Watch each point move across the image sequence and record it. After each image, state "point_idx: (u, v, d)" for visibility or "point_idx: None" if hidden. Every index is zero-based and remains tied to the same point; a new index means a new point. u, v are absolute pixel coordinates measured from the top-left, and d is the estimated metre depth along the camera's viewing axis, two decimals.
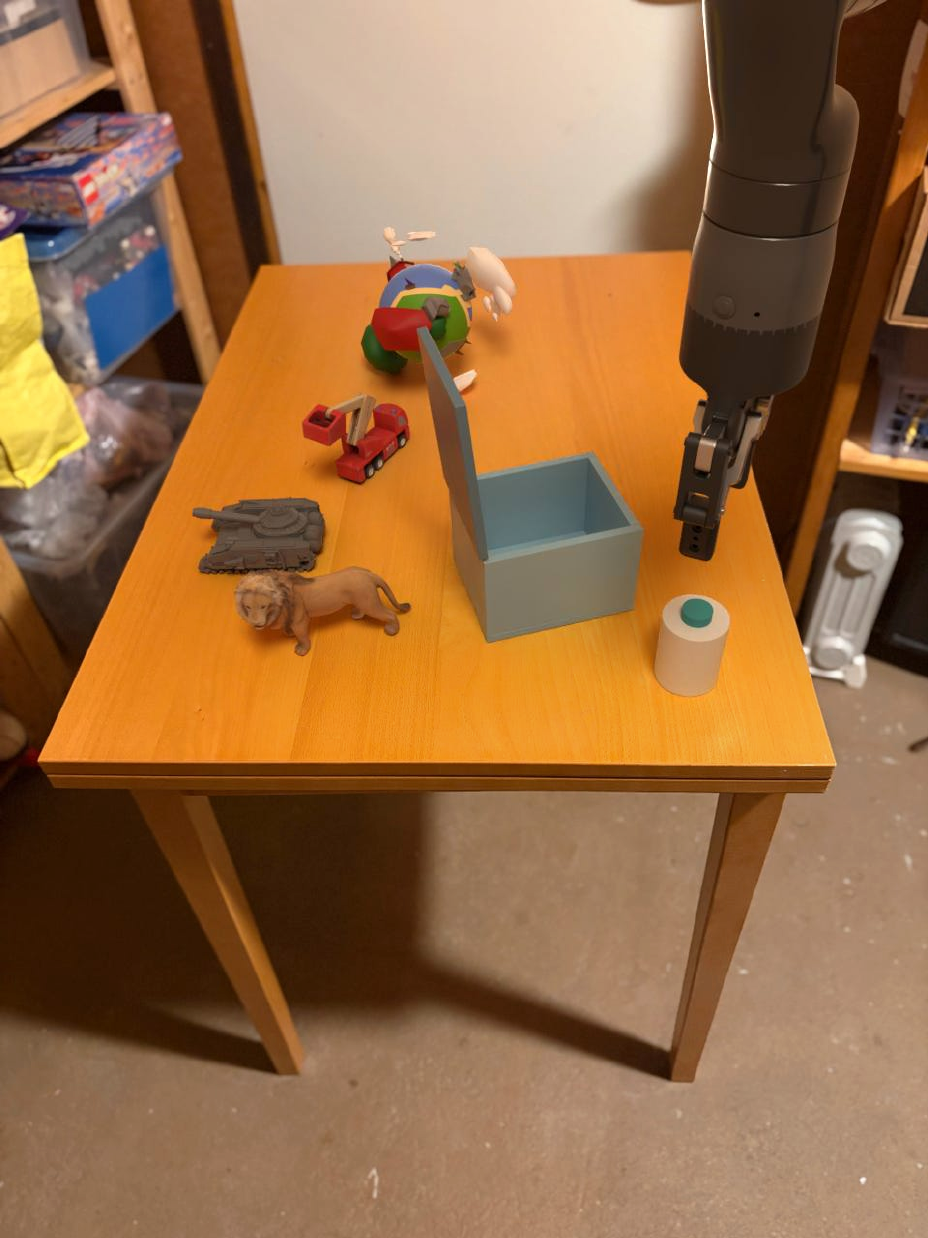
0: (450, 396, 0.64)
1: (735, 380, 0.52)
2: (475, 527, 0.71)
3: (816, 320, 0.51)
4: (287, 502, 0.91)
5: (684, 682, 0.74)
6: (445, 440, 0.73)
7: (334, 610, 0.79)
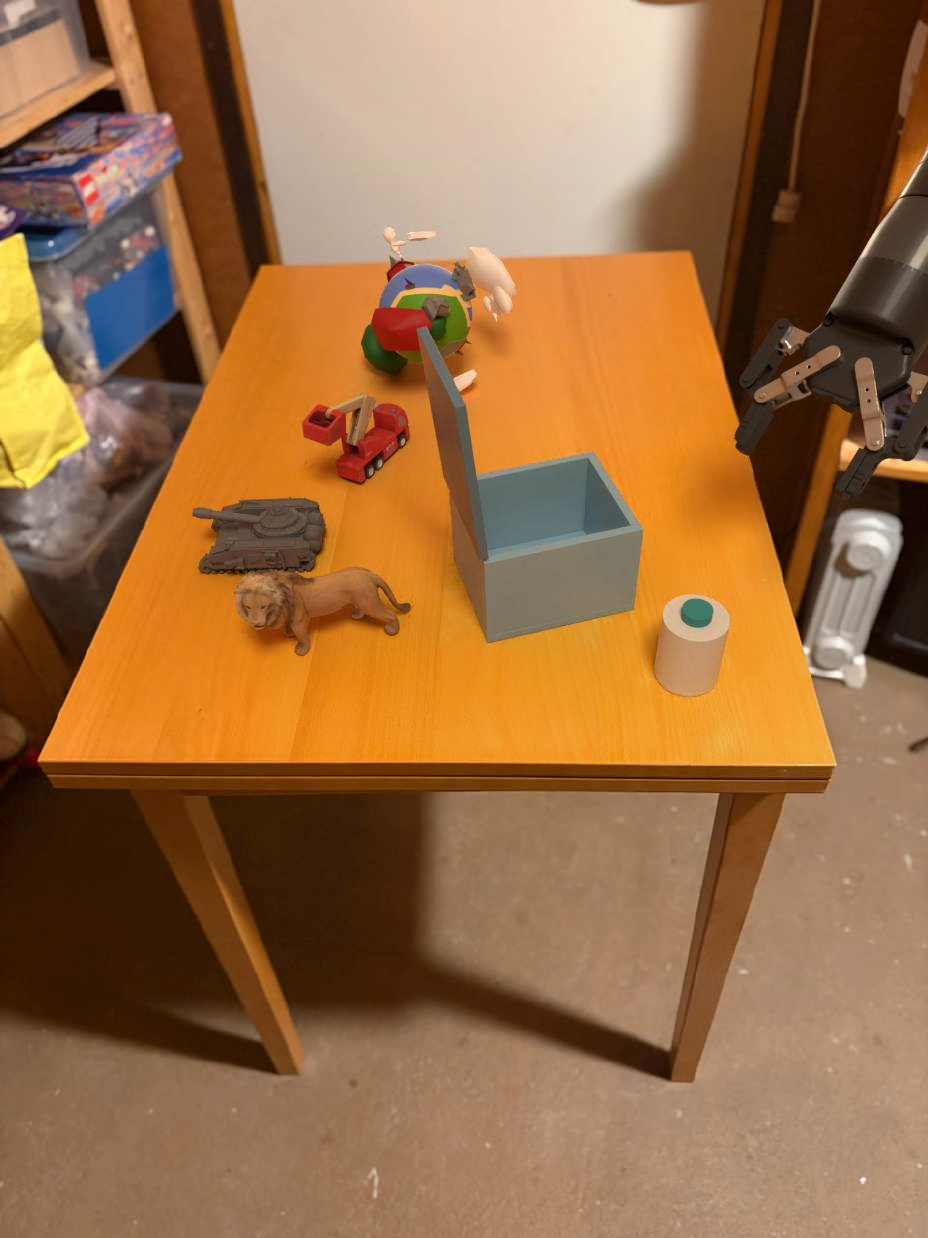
0: (450, 396, 0.64)
1: None
2: (475, 527, 0.71)
3: (883, 261, 0.66)
4: (287, 502, 0.91)
5: (684, 682, 0.74)
6: (445, 440, 0.73)
7: (334, 610, 0.79)
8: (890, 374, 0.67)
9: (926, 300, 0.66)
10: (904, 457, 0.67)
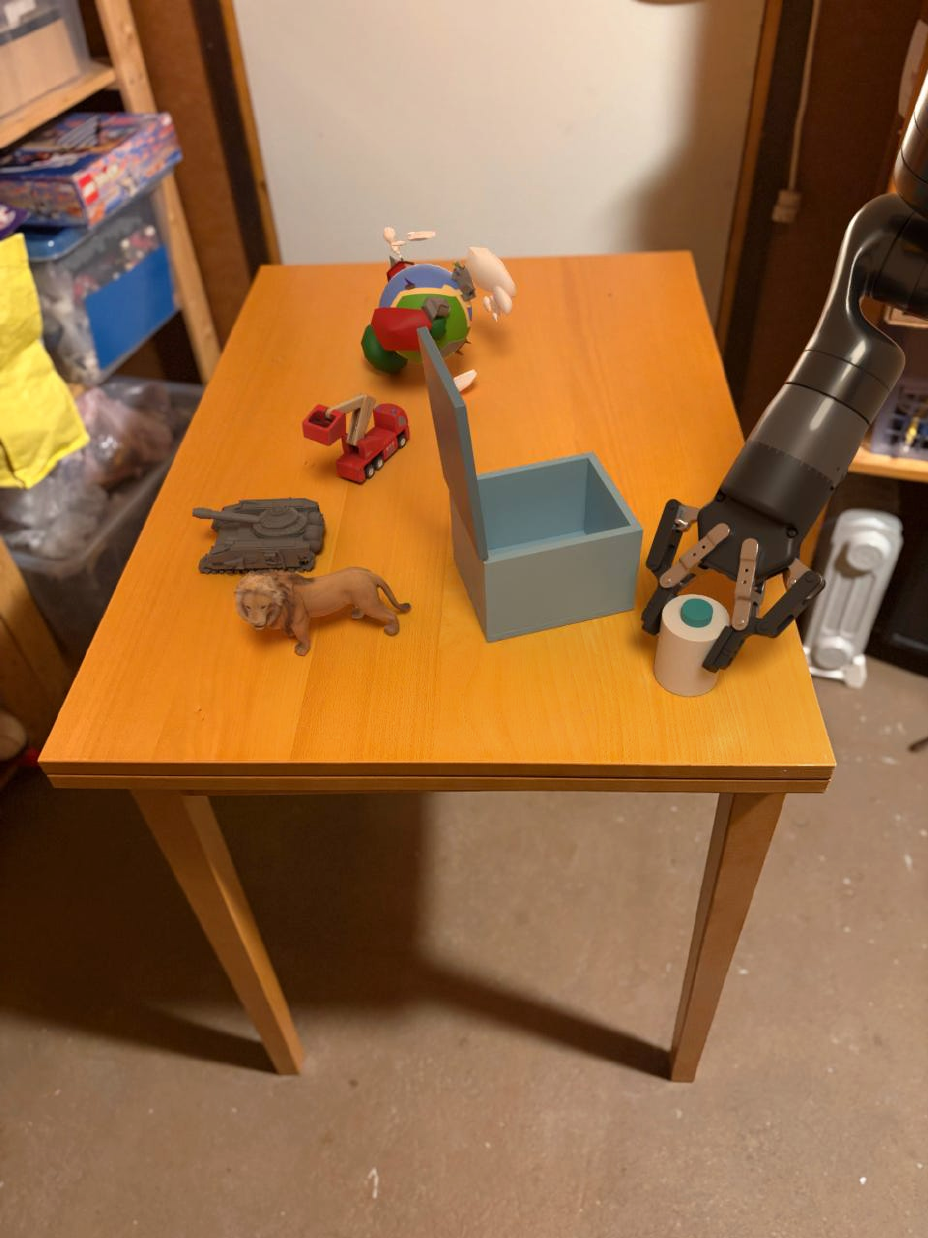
0: (450, 396, 0.64)
1: None
2: (475, 527, 0.71)
3: (767, 449, 0.68)
4: (287, 502, 0.91)
5: (684, 682, 0.74)
6: (445, 440, 0.73)
7: (334, 610, 0.79)
8: (775, 555, 0.69)
9: (807, 488, 0.67)
10: (765, 636, 0.70)
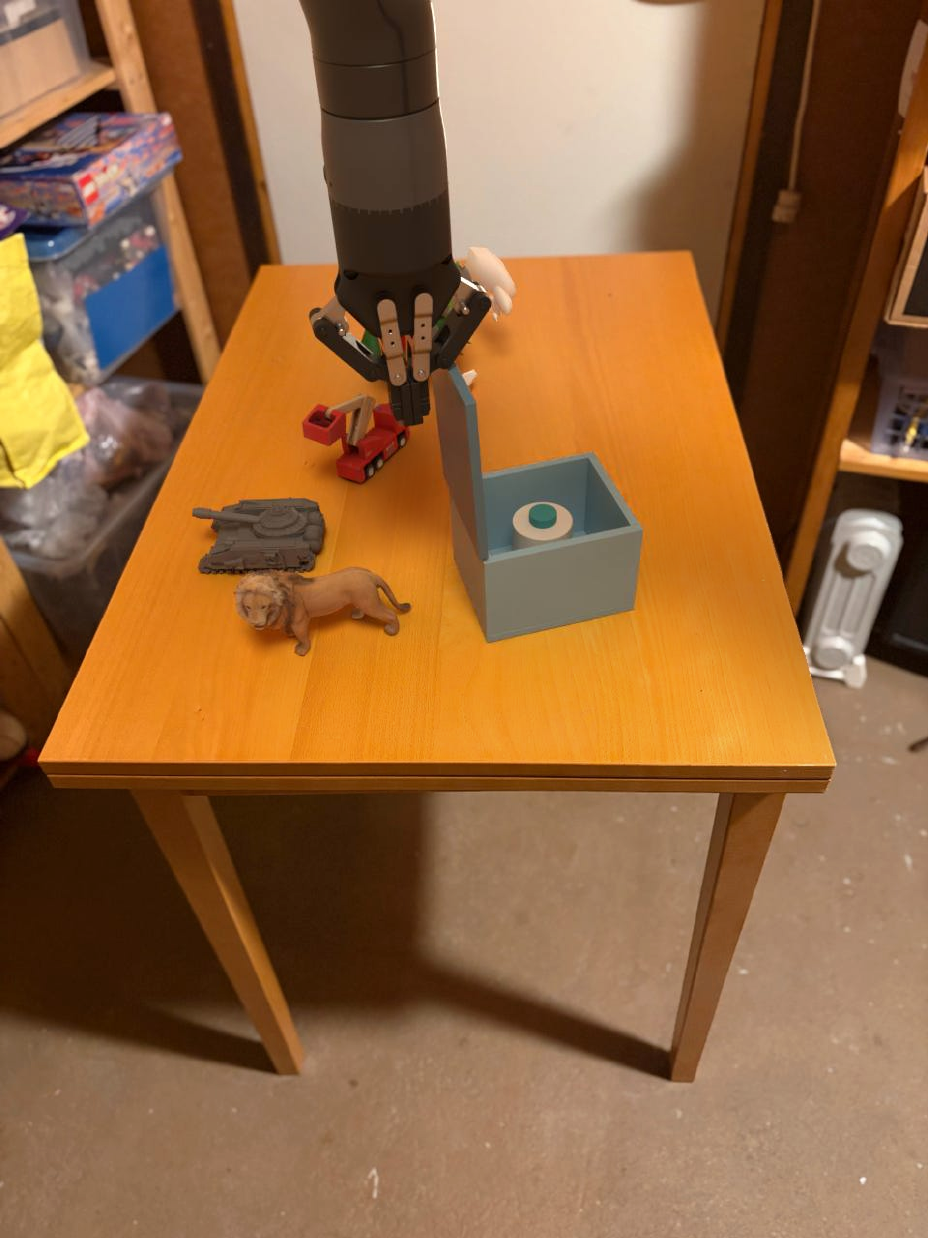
0: (460, 393, 0.64)
1: (337, 246, 0.59)
2: (477, 526, 0.71)
3: (388, 214, 0.55)
4: (287, 502, 0.91)
5: None
6: (449, 439, 0.73)
7: (334, 610, 0.79)
8: (446, 287, 0.62)
9: (444, 216, 0.57)
10: None
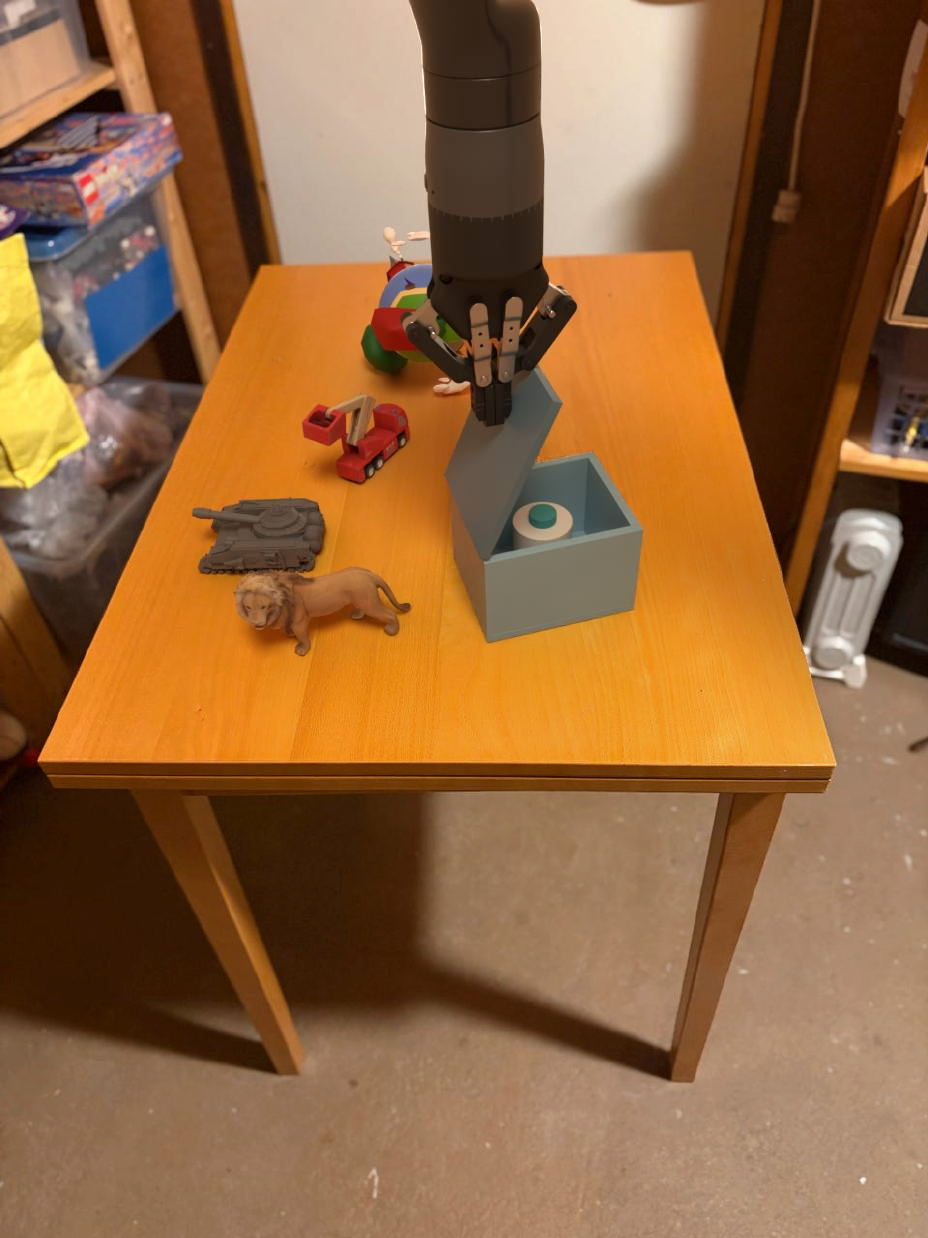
0: (547, 391, 0.66)
1: (434, 252, 0.61)
2: (497, 524, 0.71)
3: (490, 221, 0.57)
4: (287, 502, 0.91)
5: None
6: (488, 436, 0.74)
7: (334, 610, 0.79)
8: (535, 291, 0.64)
9: (540, 223, 0.59)
10: None
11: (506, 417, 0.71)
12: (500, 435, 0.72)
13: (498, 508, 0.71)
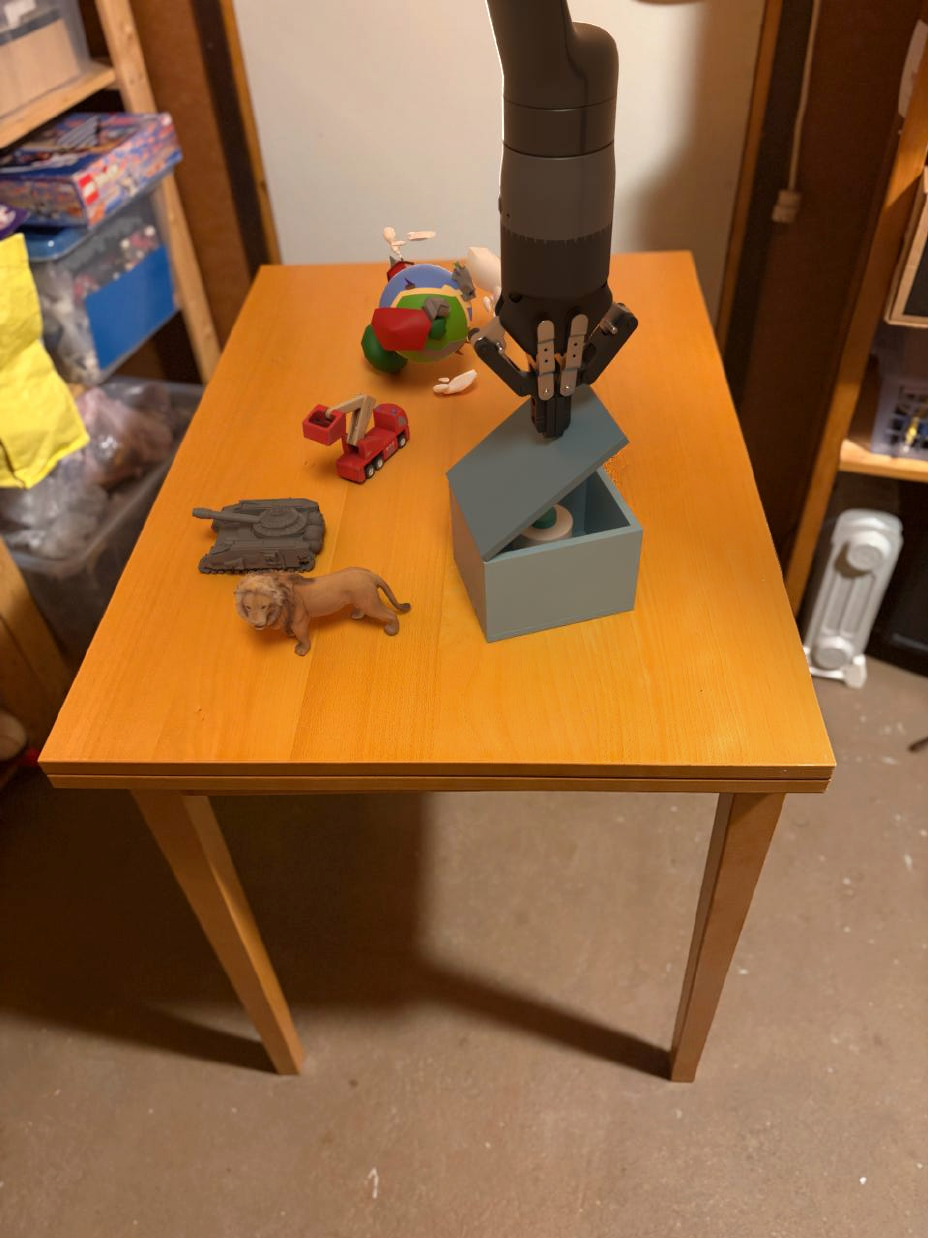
0: (617, 426, 0.70)
1: (505, 272, 0.63)
2: (514, 530, 0.72)
3: (563, 243, 0.59)
4: (287, 502, 0.91)
5: None
6: (523, 450, 0.76)
7: (334, 610, 0.79)
8: (599, 309, 0.66)
9: (609, 244, 0.62)
10: None
11: (553, 438, 0.74)
12: (540, 452, 0.74)
13: (521, 515, 0.72)
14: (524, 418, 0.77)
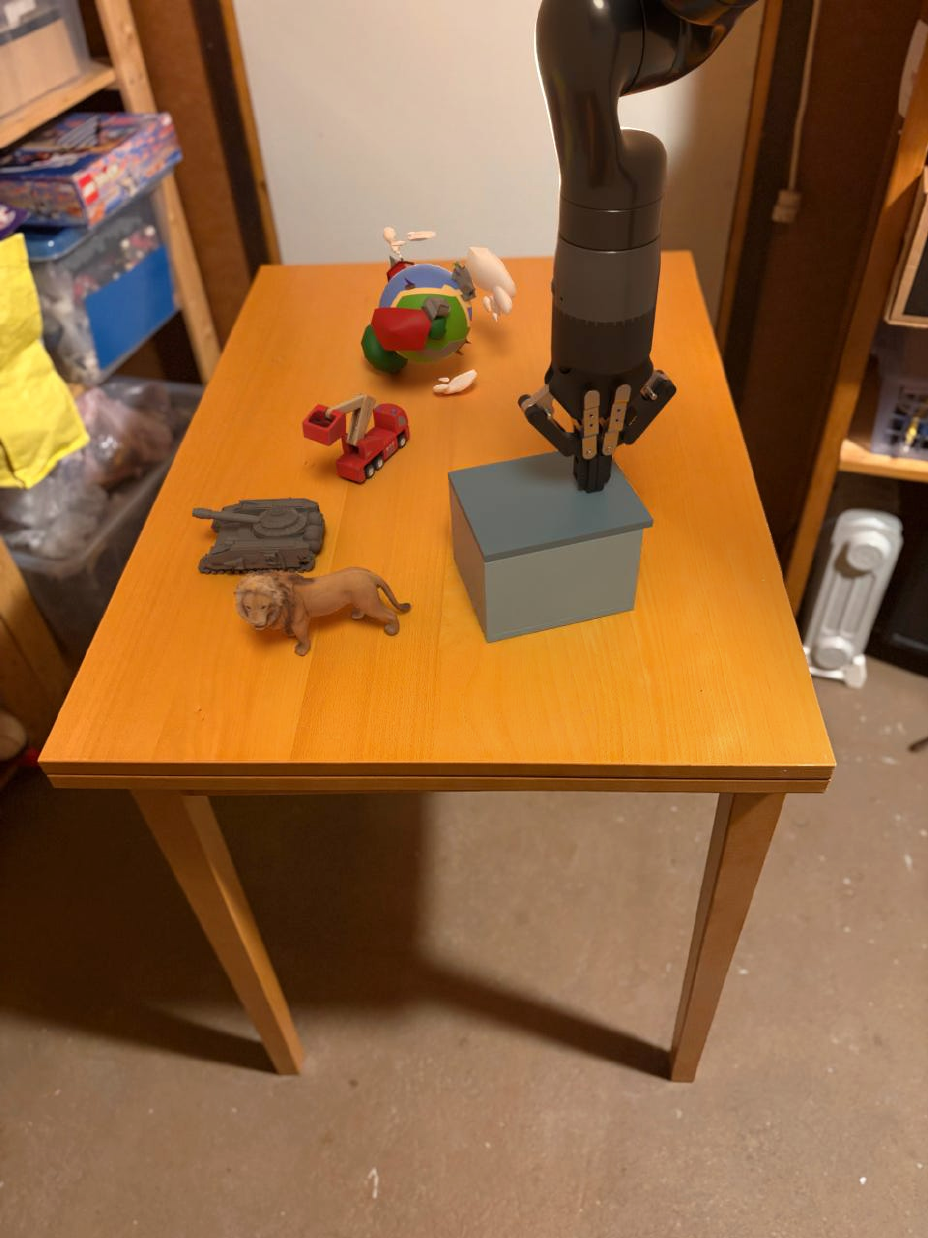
0: (646, 509, 0.77)
1: (555, 347, 0.68)
2: (525, 547, 0.74)
3: (613, 325, 0.64)
4: (287, 502, 0.91)
5: None
6: (543, 488, 0.79)
7: (334, 610, 0.79)
8: (641, 378, 0.71)
9: (653, 323, 0.67)
10: None
11: (577, 492, 0.78)
12: (562, 497, 0.78)
13: (535, 539, 0.74)
14: (546, 464, 0.81)
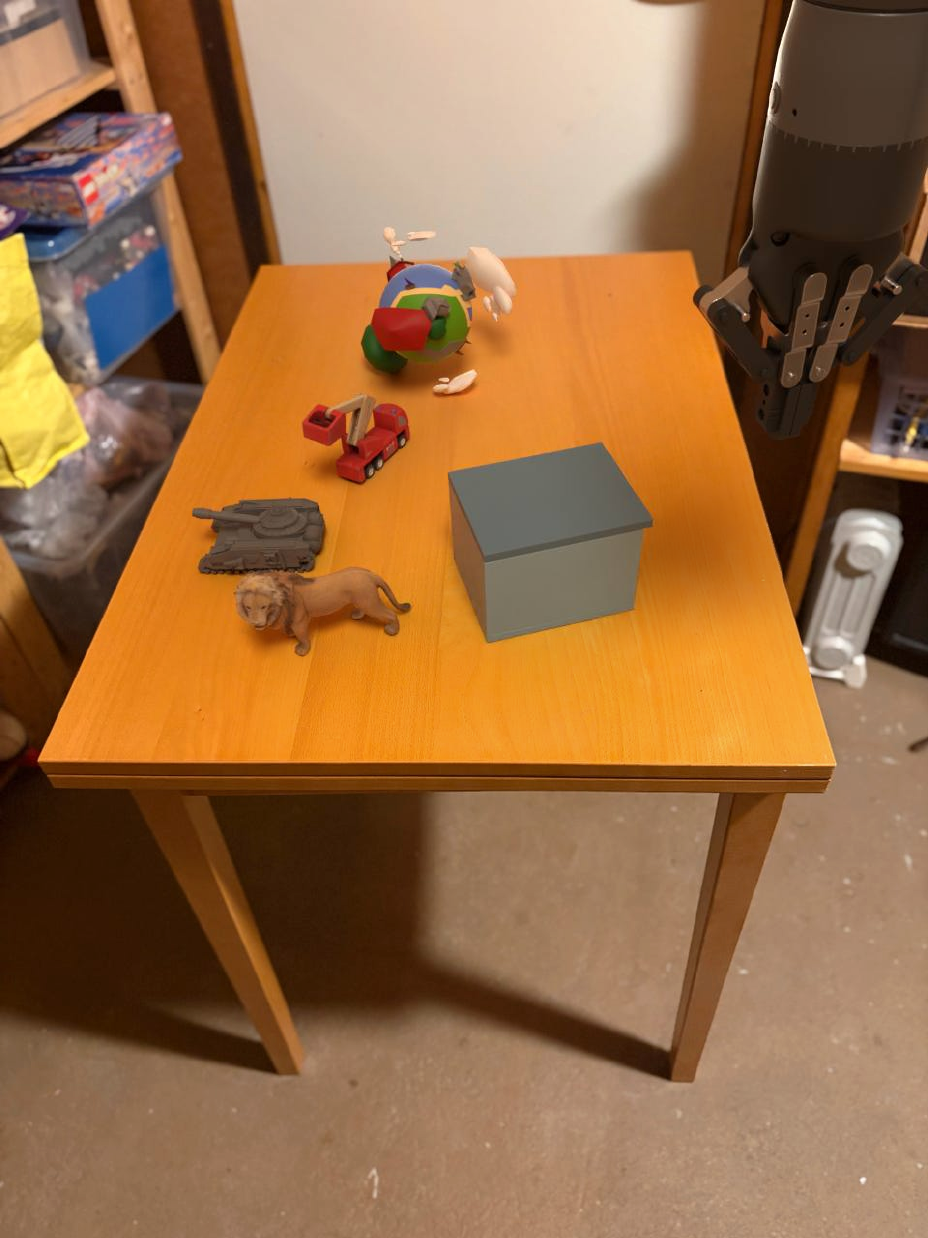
0: (646, 509, 0.77)
1: (769, 201, 0.44)
2: (525, 547, 0.74)
3: (881, 152, 0.40)
4: (287, 502, 0.91)
5: None
6: (543, 488, 0.79)
7: (334, 610, 0.79)
8: (885, 258, 0.47)
9: None
10: None
11: (577, 492, 0.78)
12: (562, 497, 0.78)
13: (535, 539, 0.74)
14: (546, 464, 0.81)
